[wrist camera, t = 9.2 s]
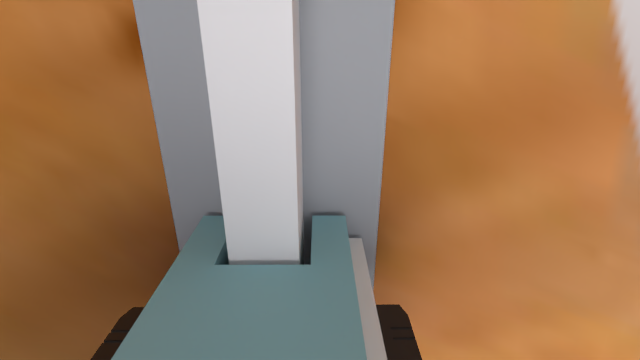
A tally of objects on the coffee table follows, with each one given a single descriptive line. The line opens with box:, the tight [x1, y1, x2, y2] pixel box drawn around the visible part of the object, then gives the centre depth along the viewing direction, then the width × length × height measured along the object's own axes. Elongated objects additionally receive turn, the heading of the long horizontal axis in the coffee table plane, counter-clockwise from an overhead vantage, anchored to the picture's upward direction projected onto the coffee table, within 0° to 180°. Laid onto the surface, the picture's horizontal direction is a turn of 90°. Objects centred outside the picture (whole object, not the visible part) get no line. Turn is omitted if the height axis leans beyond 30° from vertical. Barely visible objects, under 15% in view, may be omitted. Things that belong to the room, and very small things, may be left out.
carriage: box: [111, 216, 367, 360], centre depth 12 cm, size 6×5×7 cm
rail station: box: [133, 0, 395, 289], centre depth 12 cm, size 9×26×8 cm, turn 0°
